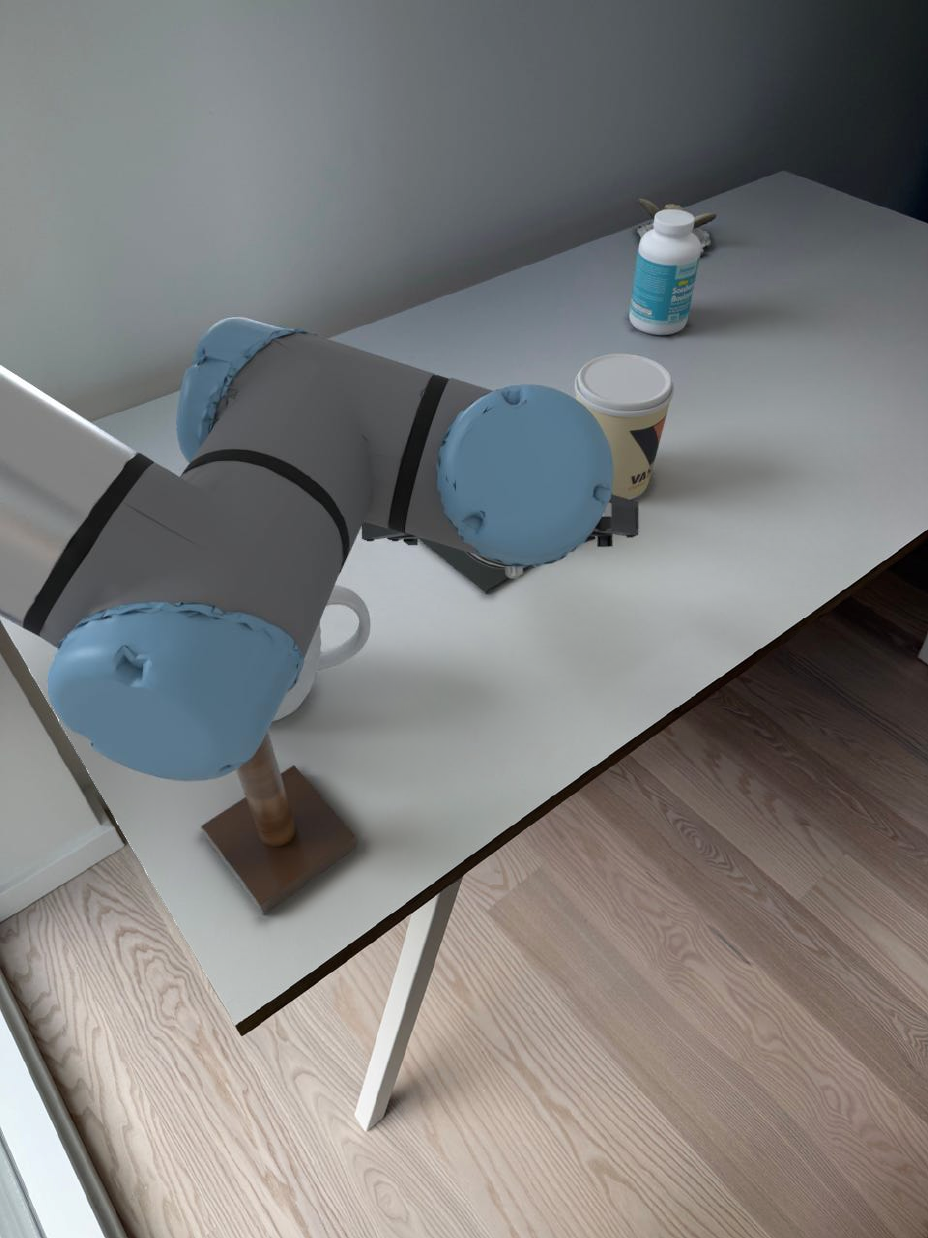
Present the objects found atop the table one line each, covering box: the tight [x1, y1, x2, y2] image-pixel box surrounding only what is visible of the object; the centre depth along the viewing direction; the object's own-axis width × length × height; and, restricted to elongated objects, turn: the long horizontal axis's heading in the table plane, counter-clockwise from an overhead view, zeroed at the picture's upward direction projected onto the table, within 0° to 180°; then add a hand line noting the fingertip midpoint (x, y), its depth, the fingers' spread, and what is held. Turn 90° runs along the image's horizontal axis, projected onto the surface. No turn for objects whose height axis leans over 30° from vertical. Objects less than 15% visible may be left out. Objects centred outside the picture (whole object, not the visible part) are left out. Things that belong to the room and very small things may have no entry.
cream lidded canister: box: [574, 353, 675, 500], centre depth 89 cm, size 9×9×12 cm
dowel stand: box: [200, 730, 358, 916], centre depth 60 cm, size 8×8×14 cm
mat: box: [417, 538, 532, 594], centre depth 87 cm, size 12×12×1 cm
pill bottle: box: [628, 209, 701, 336], centre depth 110 cm, size 8×7×14 cm
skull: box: [636, 198, 718, 257], centre depth 128 cm, size 12×10×9 cm
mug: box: [272, 584, 372, 723], centre depth 70 cm, size 15×11×13 cm
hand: (495, 527), depth 73 cm, fingers open, 13 cm apart
